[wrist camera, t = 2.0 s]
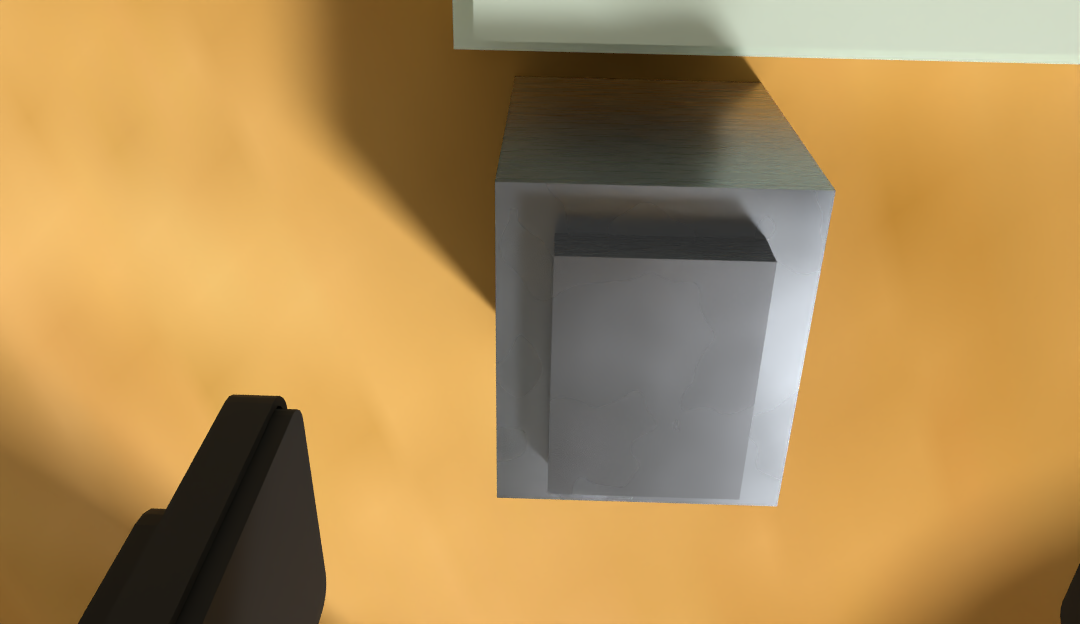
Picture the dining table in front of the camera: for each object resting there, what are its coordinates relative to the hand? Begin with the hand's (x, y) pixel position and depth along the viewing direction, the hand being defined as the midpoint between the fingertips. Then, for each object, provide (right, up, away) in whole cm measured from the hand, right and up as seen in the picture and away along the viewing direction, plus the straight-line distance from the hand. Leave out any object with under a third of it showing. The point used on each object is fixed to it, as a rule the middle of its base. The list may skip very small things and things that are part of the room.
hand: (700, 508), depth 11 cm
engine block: (0, +4, +10) cm, 11 cm away
